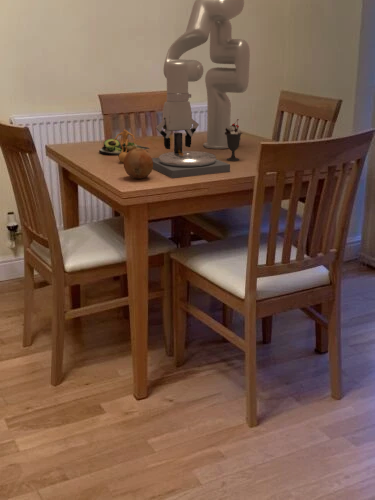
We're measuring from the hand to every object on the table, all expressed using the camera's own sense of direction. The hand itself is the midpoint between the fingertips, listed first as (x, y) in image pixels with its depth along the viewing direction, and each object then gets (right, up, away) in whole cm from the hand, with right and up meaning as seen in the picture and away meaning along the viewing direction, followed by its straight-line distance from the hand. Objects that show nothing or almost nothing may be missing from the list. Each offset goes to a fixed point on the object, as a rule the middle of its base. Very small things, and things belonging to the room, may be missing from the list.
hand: (177, 147), depth 232 cm
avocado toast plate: (-23, +2, +26) cm, 35 cm away
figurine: (-20, -5, +6) cm, 21 cm away
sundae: (+21, -3, +10) cm, 23 cm away
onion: (-13, -13, -18) cm, 26 cm away
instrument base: (+3, -8, -5) cm, 10 cm away
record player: (+3, -6, -6) cm, 9 cm away
